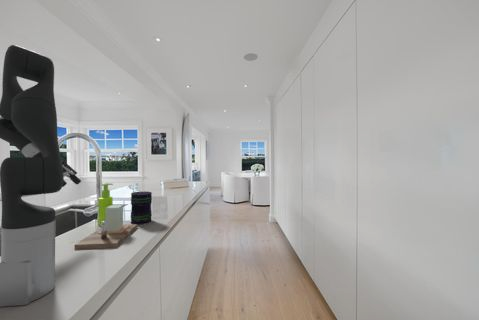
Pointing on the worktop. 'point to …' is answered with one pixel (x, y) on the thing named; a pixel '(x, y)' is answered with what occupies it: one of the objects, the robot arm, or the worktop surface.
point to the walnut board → (109, 242)
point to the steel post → (103, 229)
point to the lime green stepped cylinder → (104, 203)
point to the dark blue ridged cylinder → (141, 207)
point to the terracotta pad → (117, 231)
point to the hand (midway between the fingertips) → (72, 184)
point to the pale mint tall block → (114, 217)
